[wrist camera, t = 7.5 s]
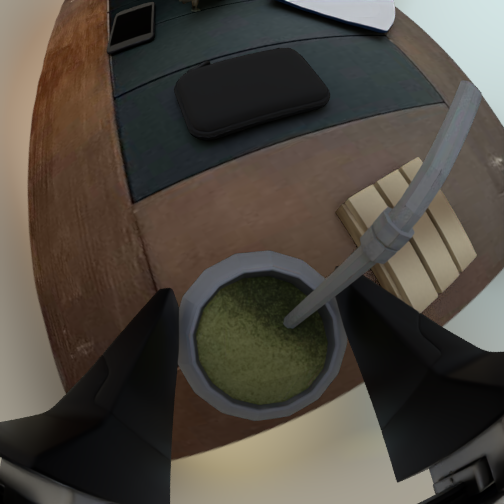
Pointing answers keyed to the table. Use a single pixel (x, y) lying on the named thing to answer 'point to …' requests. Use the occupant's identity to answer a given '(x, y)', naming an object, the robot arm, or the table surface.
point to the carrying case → (248, 92)
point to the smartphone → (132, 27)
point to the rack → (412, 240)
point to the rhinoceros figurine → (194, 4)
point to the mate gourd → (296, 302)
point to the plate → (351, 12)
